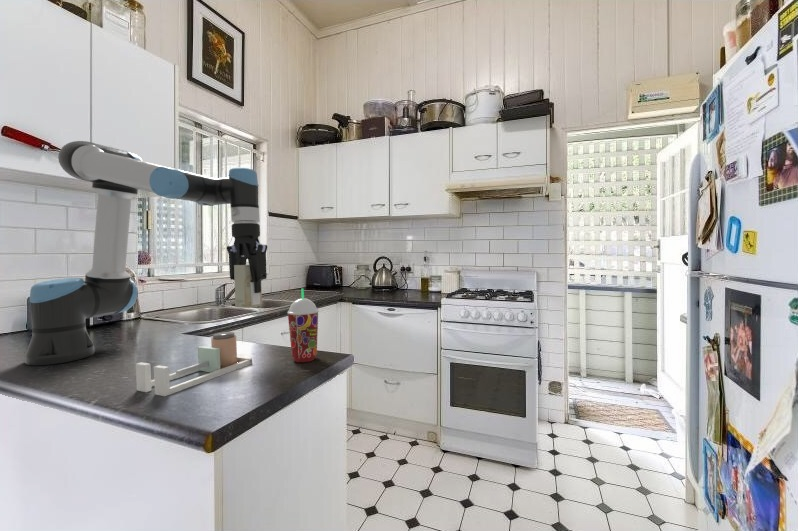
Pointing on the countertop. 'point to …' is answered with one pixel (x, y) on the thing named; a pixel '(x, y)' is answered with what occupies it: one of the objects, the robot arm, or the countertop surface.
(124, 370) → the countertop surface
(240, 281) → the skincare box
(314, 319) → the smoothie
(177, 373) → the pusher
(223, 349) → the jar
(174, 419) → the countertop surface
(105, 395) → the countertop surface
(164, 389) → the lane
